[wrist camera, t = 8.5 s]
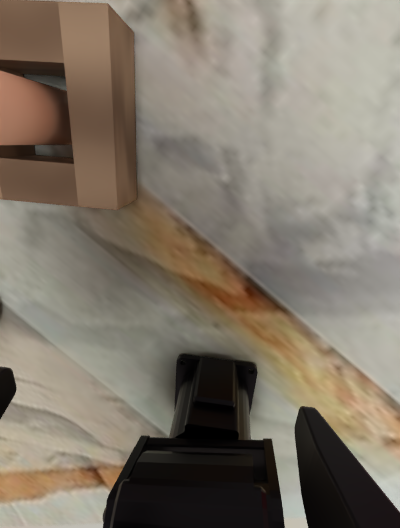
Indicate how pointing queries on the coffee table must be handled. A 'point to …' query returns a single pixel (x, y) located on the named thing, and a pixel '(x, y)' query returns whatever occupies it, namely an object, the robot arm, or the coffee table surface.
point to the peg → (32, 113)
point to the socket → (74, 102)
